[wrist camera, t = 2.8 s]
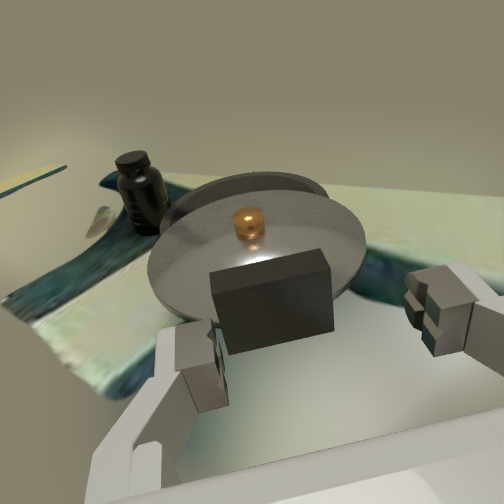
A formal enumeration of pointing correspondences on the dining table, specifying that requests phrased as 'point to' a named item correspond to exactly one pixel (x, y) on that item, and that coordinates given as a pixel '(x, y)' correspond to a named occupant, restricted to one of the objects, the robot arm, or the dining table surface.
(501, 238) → the dining table surface
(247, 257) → the cooker lid
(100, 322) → the dining table surface
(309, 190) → the cooker pot
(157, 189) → the supplement bottle
